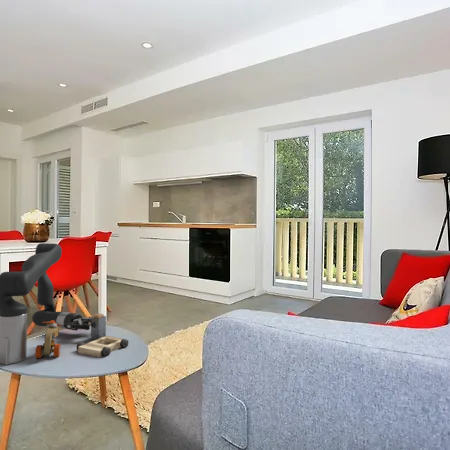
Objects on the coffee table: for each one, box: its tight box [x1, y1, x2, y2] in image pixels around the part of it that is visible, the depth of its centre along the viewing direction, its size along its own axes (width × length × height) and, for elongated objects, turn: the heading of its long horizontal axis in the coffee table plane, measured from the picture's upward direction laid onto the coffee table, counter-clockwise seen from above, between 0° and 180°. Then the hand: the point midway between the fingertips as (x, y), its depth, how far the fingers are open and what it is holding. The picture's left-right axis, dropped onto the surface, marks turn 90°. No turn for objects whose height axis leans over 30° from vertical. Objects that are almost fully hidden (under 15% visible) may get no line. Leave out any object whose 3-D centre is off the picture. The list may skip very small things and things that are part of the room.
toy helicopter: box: [34, 320, 62, 359], centre depth 143 cm, size 8×21×14 cm, turn 17°
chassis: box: [76, 335, 130, 358], centre depth 147 cm, size 16×15×3 cm
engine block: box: [90, 313, 107, 341], centre depth 160 cm, size 4×4×11 cm
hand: (96, 325), depth 160 cm, fingers open, 8 cm apart
